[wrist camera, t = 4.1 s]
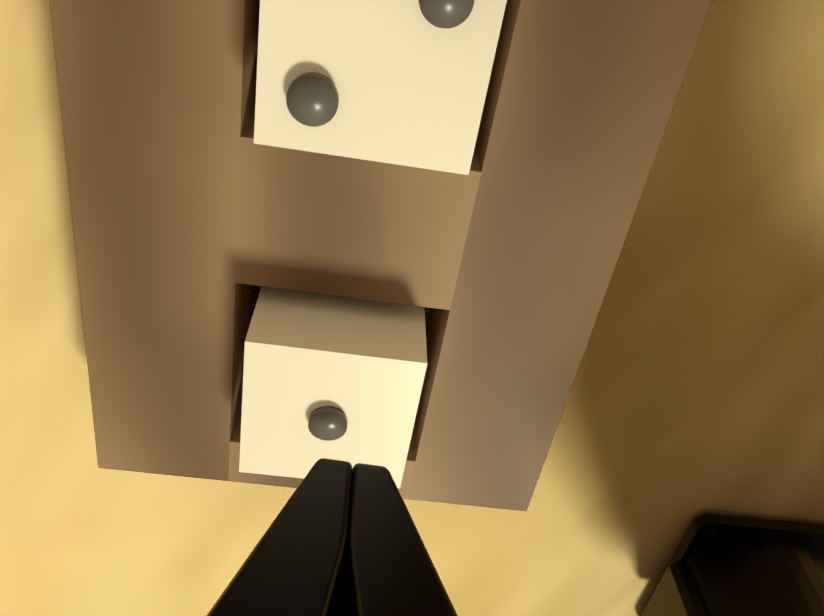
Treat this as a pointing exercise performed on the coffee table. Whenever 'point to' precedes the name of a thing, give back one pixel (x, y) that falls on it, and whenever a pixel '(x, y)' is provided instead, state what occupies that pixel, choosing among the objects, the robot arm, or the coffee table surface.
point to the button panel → (353, 228)
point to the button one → (330, 382)
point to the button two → (376, 78)
